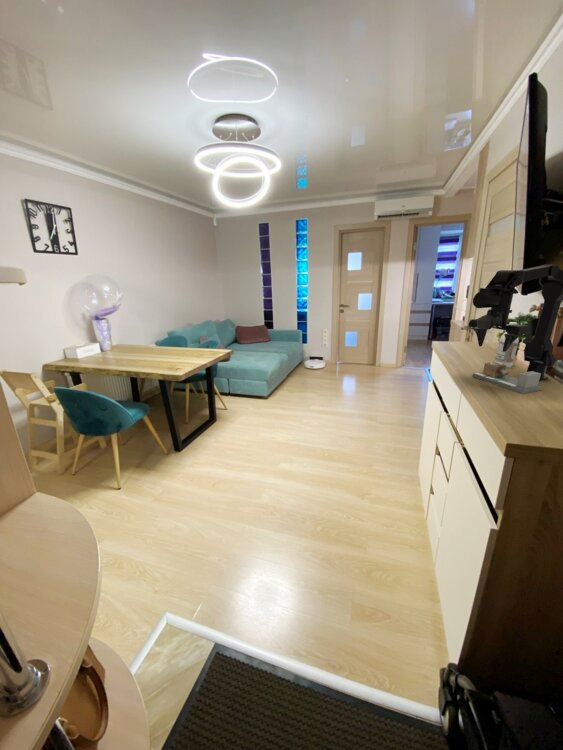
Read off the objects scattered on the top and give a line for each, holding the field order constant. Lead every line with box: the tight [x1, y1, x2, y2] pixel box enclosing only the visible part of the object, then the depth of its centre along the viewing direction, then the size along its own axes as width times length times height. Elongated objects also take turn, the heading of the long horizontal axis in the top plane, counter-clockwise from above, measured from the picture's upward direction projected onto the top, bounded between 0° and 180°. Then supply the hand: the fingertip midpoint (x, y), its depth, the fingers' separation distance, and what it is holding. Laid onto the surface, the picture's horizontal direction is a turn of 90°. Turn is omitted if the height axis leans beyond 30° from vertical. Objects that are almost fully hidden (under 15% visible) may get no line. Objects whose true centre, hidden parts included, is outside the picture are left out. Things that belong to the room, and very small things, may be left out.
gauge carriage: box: [482, 361, 509, 378], centre depth 123 cm, size 7×8×5 cm
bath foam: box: [494, 321, 520, 369], centre depth 139 cm, size 7×7×20 cm
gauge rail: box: [472, 371, 542, 395], centre depth 120 cm, size 10×20×6 cm, turn 21°
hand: (491, 349), depth 116 cm, fingers open, 9 cm apart
